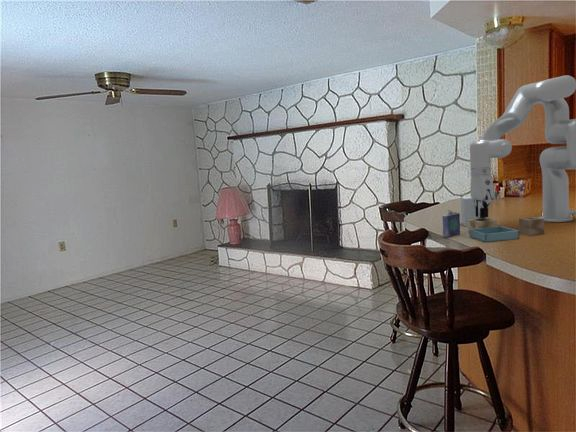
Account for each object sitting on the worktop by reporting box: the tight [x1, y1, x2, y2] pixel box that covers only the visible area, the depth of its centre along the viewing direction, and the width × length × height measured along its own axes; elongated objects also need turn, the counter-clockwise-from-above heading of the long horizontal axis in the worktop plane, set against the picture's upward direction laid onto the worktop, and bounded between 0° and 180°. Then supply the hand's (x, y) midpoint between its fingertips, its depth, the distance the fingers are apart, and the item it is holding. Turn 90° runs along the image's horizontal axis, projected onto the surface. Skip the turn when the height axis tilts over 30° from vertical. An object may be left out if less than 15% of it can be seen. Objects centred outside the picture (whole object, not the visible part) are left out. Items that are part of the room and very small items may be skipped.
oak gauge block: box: [467, 217, 498, 232], centre depth 172 cm, size 8×8×5 cm
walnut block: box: [518, 216, 545, 237], centre depth 162 cm, size 6×6×6 cm
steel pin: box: [478, 200, 485, 221], centre depth 172 cm, size 3×3×12 cm
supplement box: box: [460, 195, 478, 227], centre depth 189 cm, size 7×7×13 cm
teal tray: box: [469, 225, 520, 243], centre depth 160 cm, size 13×11×3 cm
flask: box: [441, 209, 461, 238], centre depth 170 cm, size 9×3×11 cm, turn 121°
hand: (481, 216), depth 172 cm, fingers closed on steel pin, 2 cm apart
